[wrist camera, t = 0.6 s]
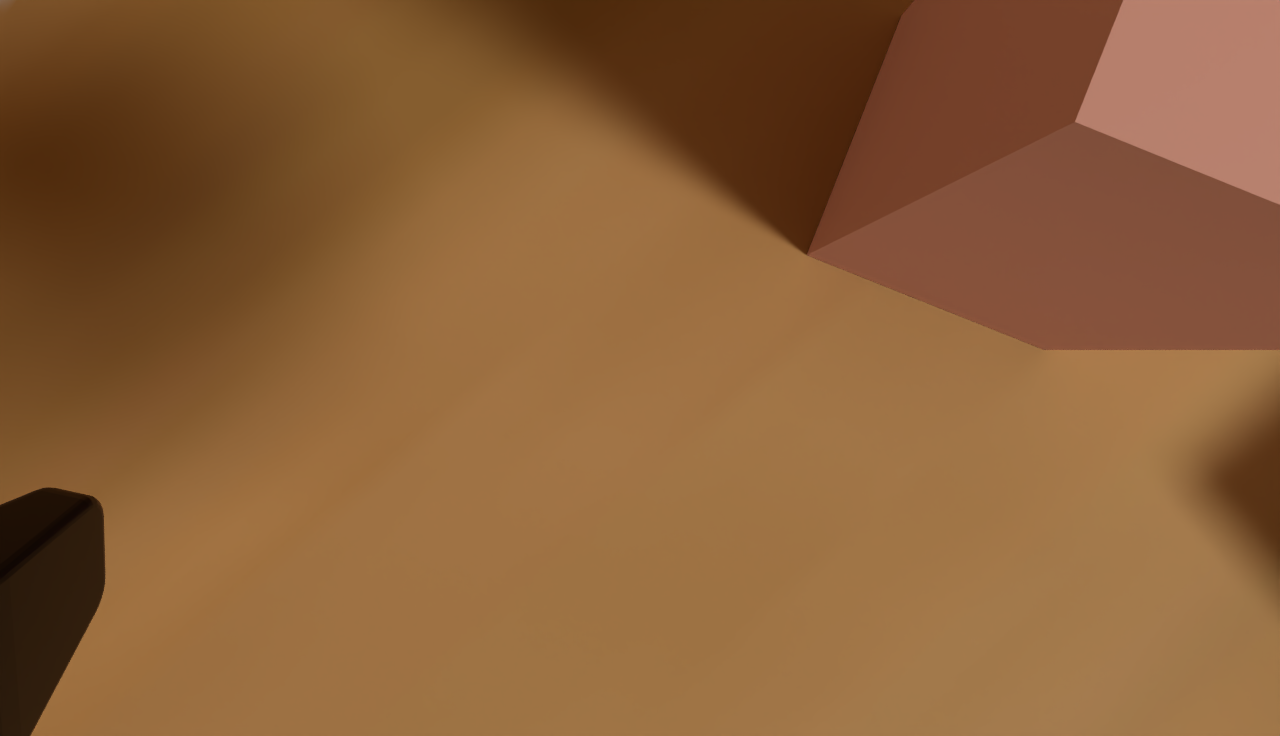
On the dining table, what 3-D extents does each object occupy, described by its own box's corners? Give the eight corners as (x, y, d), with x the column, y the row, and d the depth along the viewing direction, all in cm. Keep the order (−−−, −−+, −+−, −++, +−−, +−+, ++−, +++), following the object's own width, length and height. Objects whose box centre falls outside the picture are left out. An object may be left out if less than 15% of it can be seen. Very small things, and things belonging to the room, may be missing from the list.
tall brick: (1043, 349, 22) (1636, 349, 9) (806, 255, 22) (1075, 121, 9) (1138, 111, 22) (1865, -222, 9) (902, 15, 22) (1305, -459, 9)
